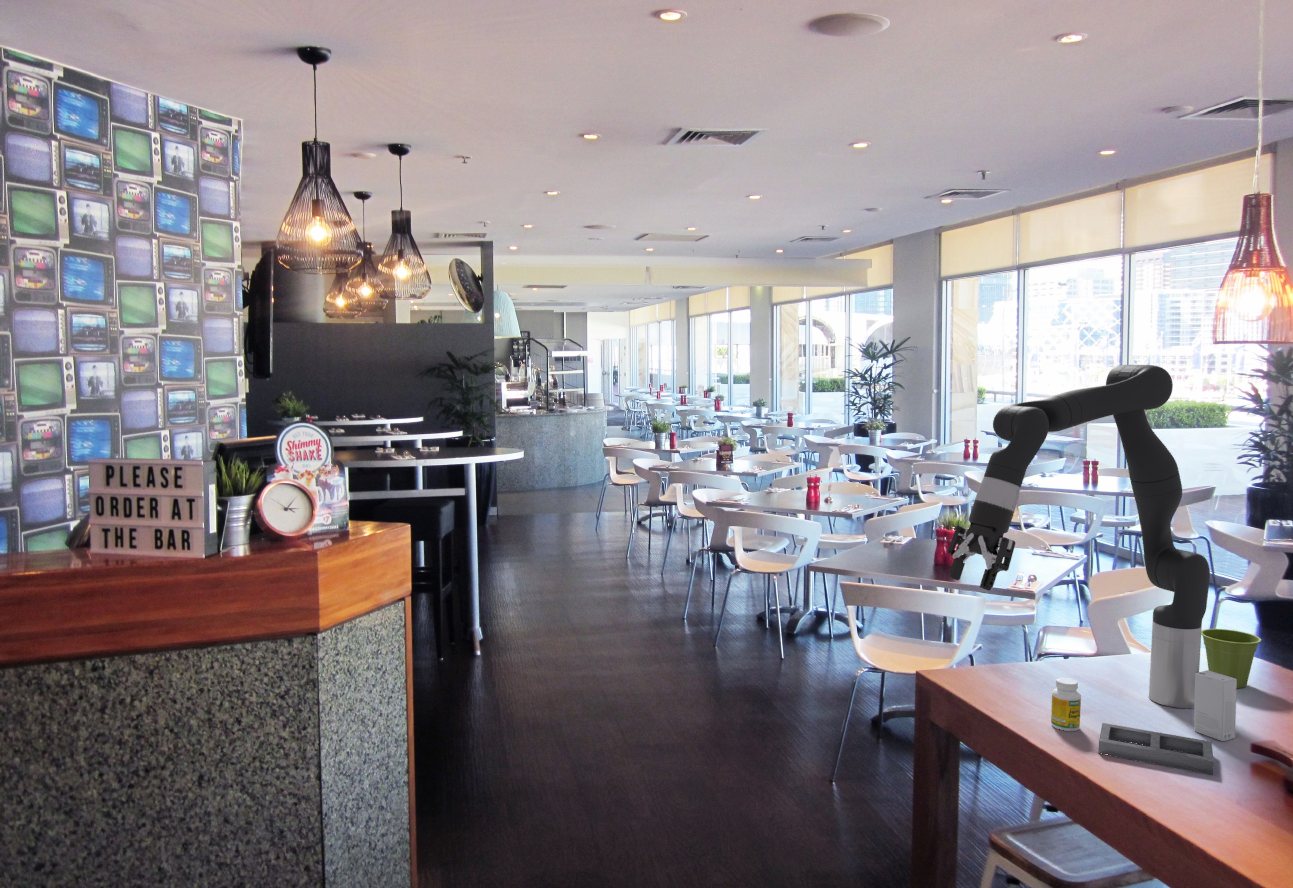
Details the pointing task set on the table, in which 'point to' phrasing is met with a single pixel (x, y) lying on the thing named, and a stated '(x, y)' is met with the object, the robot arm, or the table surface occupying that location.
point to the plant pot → (1230, 653)
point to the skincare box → (1215, 705)
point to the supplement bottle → (1066, 705)
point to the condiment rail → (1157, 748)
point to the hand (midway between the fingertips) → (968, 584)
